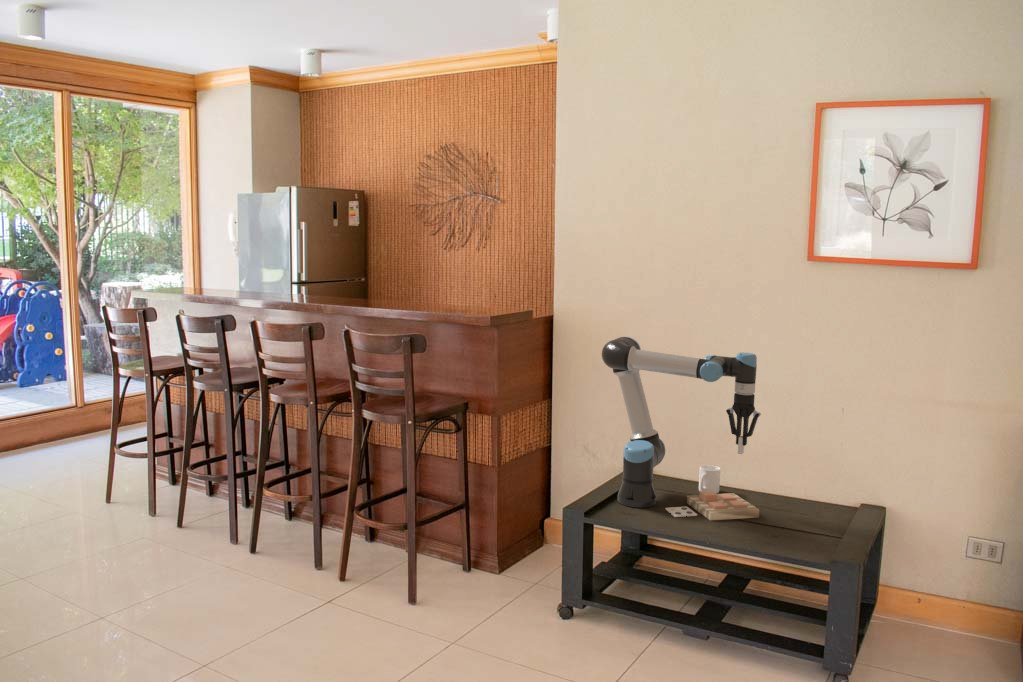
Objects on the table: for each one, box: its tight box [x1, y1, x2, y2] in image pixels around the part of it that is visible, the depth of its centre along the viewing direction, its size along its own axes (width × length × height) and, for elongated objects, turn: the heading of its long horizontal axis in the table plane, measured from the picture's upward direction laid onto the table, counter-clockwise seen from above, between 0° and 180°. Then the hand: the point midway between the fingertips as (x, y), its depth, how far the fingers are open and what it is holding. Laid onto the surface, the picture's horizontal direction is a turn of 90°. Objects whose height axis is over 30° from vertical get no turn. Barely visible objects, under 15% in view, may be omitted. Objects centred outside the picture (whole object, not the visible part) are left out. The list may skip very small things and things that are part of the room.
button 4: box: [728, 500, 746, 508], centre depth 314 cm, size 5×5×4 cm
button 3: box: [718, 493, 736, 501], centre depth 321 cm, size 5×5×4 cm
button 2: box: [709, 501, 727, 509], centre depth 312 cm, size 5×5×4 cm
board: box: [686, 492, 760, 521], centre depth 317 cm, size 20×20×3 cm
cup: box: [698, 464, 721, 494], centre depth 337 cm, size 8×12×10 cm
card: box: [664, 506, 698, 518], centre depth 313 cm, size 9×9×1 cm
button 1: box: [698, 491, 717, 502], centre depth 319 cm, size 5×5×4 cm
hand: (740, 453), depth 319 cm, fingers closed
